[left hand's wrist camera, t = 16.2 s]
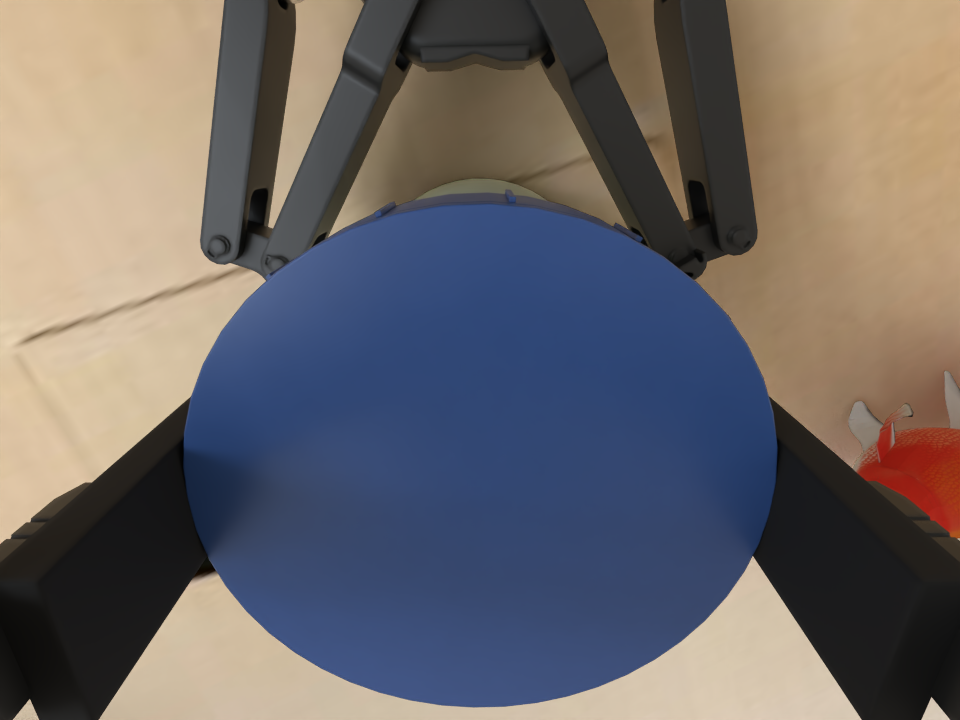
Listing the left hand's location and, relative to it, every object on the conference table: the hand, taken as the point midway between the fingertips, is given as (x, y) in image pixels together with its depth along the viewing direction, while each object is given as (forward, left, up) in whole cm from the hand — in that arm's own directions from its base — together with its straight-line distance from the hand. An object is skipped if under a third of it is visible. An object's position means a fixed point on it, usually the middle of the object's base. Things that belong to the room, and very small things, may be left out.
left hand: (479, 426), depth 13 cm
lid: (0, 0, +3) cm, 3 cm away
